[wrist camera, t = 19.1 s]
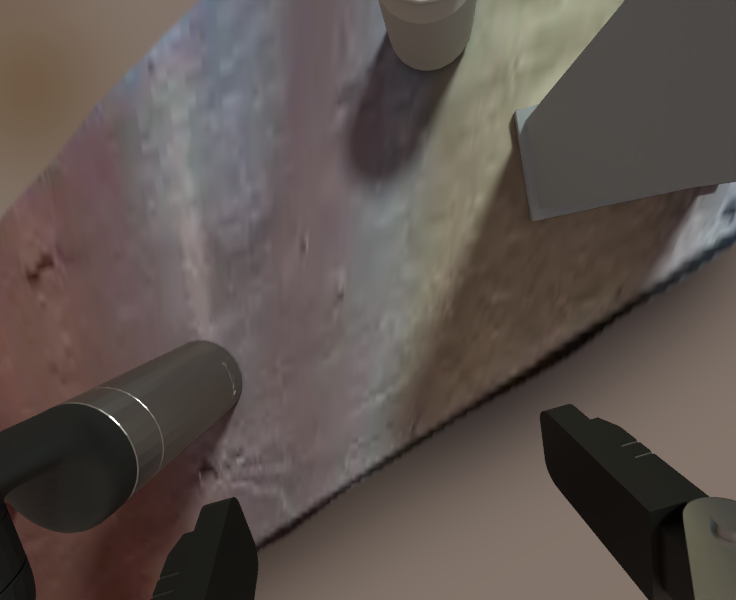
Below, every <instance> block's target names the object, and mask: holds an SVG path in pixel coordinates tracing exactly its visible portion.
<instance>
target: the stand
mask: <svg viewBox="0 0 736 600" xmlns="http://www.w3.org/2000/svg"><path fill="white" fill-rule="evenodd" d="M514 117H515V124H516V130H517V136H518V142H519V149H520V155H521V161H522V167H523V174H524V180H525V186H526V192H527V199H528V205H529V211H530V217H531V221H537V220H542V219H547V218H552V217H556V216H561V215H566V214H570V213H575V212H580V211H585V210H589V209H594V208H599V207H603V206H608V205H613V204H618V203H622V202H627V201H632V200H637V199H641V198H646V197H651V196H655V195H660V194H665V193H670V192H674V191H679V190H684V189H689V188H694V187H701V186H709V185H716V184H723V183H730V182H736V0H625V1H624V2H623V3H622V5H621V6H620V7H619V8H618V9H617V11H616V12H615V13H614V14H613V15H612V17H611V18H610V19H609V20H608V22H607V23H606V24H605V25H604V26H603V28H602V29H601V30H600V31H599V32H598V34H597V35H596V36H595V37H594V38H593V40H592V41H591V42H590V43H589V44H588V46H587V47H586V48H585V49H584V50H583V52H582V53H581V54H580V55H579V57H578V58H577V59H576V60H575V61H574V63H573V64H572V65H571V66H570V67H569V69H568V70H567V71H566V72H565V73H564V75H563V76H562V77H561V78H560V79H559V81H558V82H557V83H556V84H555V86H554V87H553V88H552V89H551V90H550V92H549V93H548V94H547V95H546V96H545V98H544V99H543V100H542V101H541V102H540V104H538V105H535V106H531V107H527V108H523V109H519V110H516V111H515V112H514Z"/></svg>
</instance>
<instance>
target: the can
mask: <svg viewBox="0 0 736 600" xmlns="http://www.w3.org/2000/svg"><path fill="white" fill-rule="evenodd" d="M378 1H379V4H380V8H381V11H382V15H383V18H384V22H385V25H386V29H387V32H388V36H389V39H390V42H391V45H392V47H393V50H394V52H395V54H396V55H397V56H398V57H399V58H400V60H401V61H402V62H403V63H405V64H406V65H408V66H410V67H412V68H413V69H418V70H423V71H430V70H436V69H440V68H442V67H444V66H446V65H448V64H450V63H452V62H453V61H454V60H455V59H456V58H457V57H458V56H459V55H460V54H461V53H462V51H463V50H464V48H465V46H466V44H467V43H468V41H469V38H470V34H471V30H472V26H473V20H474V14H475V8H476V1H477V0H378Z"/></svg>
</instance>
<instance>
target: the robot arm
mask: <svg viewBox="0 0 736 600" xmlns="http://www.w3.org/2000/svg"><path fill="white" fill-rule="evenodd" d="M241 390H242V378H241V373H240V370H239V368H238V365H237V363H236V362H235V360H234V359H233V357H232V356H231V355H230V354H229V353H228V352H227V351H226V350H225V349H223V348H222V347H220V346H218V345H216V344H214V343H211V342H207V341H194V342H190V343H187V344H185V345H183V346H181V347H179V348H177V349H174V350H172V351H170V352H168V353H166V354H163V355H161V356H159V357H157V358H155V359H153V360H151V361H149V362H147V363H145V364H142V365H140V366H138V367H136V368H134V369H132V370H130V371H128V372H126V373H124V374H121V375H119V376H117V377H115V378H113V379H111V380H109V381H107V382H105V383H102V384H100V385H98V386H96V387H94V388H92V389H90V390H88V391H86V392H84V393H82V394H80V395H78V396H76V397H74V398H71V399H69V400H67V401H65V402H63V403H61V404H59V405H57V406H55V407H52V408H50V409H48V410H46V411H44V412H42V413H40V414H38V415H36V416H34V417H32V418H29V419H27V420H25V421H23V422H21V423H18V424H16V425H14V426H12V427H9V428H7V429H5V430H3V431H1V432H0V600H35V599H36V588H35V581H34V576H33V573H32V569H31V567H30V564H29V561H28V559H27V556H26V554H25V551H24V549H23V547H22V544H21V542H20V539H19V537H18V534H17V532H16V529H15V527H14V524H13V522H12V520H11V517H10V515H9V512H8V510H7V507H6V504H5V502H4V501H6V502H7V503H8V504H10V505H11V506H12V507H13V508H14V509H16V510H17V511H18V512H19V513H20V514H22V515H23V516H24V517H26V518H27V519H28V520H30V521H31V522H33V523H35V524H37V525H39V526H41V527H43V528H46V529H48V530H52V531H56V532H62V533H75V532H82V531H85V530H88V529H91V528H93V527H95V526H97V525H98V524H100V523H102V522H103V521H104V520H106V519H107V518H108V517H109V516H111V515H112V514H113V513H114V512H115V511H116V510H117V509H118V508H120V507H121V506H122V505H123V504H124V503H125V502H126V501H127V500H128V499H129V498H131V497H132V496H133V495H134V494H135V493H136V492H137V491H138V490H140V489H141V488H142V487H143V486H144V485H145V484H146V483H147V482H149V481H150V480H151V479H152V478H153V477H154V476H155V475H156V474H157V473H159V472H160V471H161V470H162V469H163V468H164V467H165V466H167V465H168V464H169V463H170V462H171V461H172V460H173V459H174V458H176V457H177V456H178V455H179V454H180V453H181V452H182V451H184V450H185V449H186V448H187V447H188V446H189V445H190V444H192V443H193V442H194V441H195V440H196V439H197V438H198V437H199V436H201V435H202V434H203V433H204V432H205V431H206V430H207V429H209V428H210V427H211V426H212V425H213V424H214V423H216V422H217V421H218V420H219V419H220V418H221V417H222V416H223V415H225V414H226V413H227V412H228V411H229V410H230V409H231V408H232V407H233V406H234V405H235V404H236V402H237V401H238V399H239V397H240V393H241ZM540 422H541V430H542V439H543V446H544V454H545V461H546V466H547V469H548V472H549V474H550V476H551V478H552V480H553V482H554V483H555V485H556V486H557V487H558V489H559V490H560V491H561V493H562V494H563V495H564V496H565V497H566V499H567V500H568V501H569V502H570V504H571V505H572V506H573V507H574V509H575V510H576V511H577V512H578V513H579V515H580V516H581V517H582V518H583V520H584V521H585V522H586V523H587V524H588V525H589V527H590V528H591V529H592V531H593V532H594V533H595V534H596V536H597V537H598V538H599V539H600V541H601V542H602V543H603V544H604V545H605V547H606V548H607V549H608V550H609V552H610V553H611V554H612V555H613V556H614V558H615V559H616V560H617V561H618V563H619V564H620V565H621V566H622V568H623V569H624V570H625V571H626V572H627V574H628V575H629V576H630V578H631V579H632V580H633V581H634V582H635V584H636V585H637V586H638V587H639V589H640V590H641V591H642V592H643V593H644V595H645V596H646V597H647V598H648V600H736V501H735V500H731V499H726V498H719V497H709V496H708V495H706V494H705V493H704V492H703V491H701V490H700V489H699V488H697V487H696V486H695V485H694V484H692V483H691V482H690V481H688V480H687V479H686V478H685V477H684V476H682V475H681V474H680V473H678V472H677V471H676V470H675V469H673V468H672V467H671V466H669V465H668V464H667V463H666V462H664V461H663V460H662V459H661V458H659V457H658V456H657V455H655V454H652V453H651V451H650V450H649V449H648V448H647V447H645V446H644V445H643V444H641V443H640V442H639V443H638V442H637V440H636V439H635V438H634V437H632V436H631V435H630V434H629V433H627V432H626V431H625V430H624V429H622V428H621V427H619V426H617V425H615V424H612V423H610V422H608V421H605V420H603V419H600V418H595V419H591V420H590V419H589V418H588V417H587V416H585V415H584V414H583V413H582V412H581V411H579V410H578V409H577V408H576V407H575V406H573V405H571V404H567V405H564V406H560V407H557V408H553V409H550V410H546V411H542V412H541V414H540ZM257 575H258V555H257V550H256V546H255V542H254V540H253V537H252V535H251V532H250V529H249V527H248V524H247V522H246V519H245V516H244V514H243V511H242V509H241V506H240V504H239V501H238V500H237V499H236V498H235V497H232V498H229V499H225V500H222V501H218V502H214V503H211V504H207V505H204V506H203V507H202V509H201V511H200V514H199V517H198V520H197V523H196V526H195V529H194V531H193V532H189V533H186V534H183V536H182V537H181V538H180V540H179V541H178V542H177V544H176V545H175V546H174V548H173V549H172V550H171V552H170V553H169V554H168V556H167V559H166V561H165V564H164V567H163V569H162V572H161V574H160V580H158V582H157V585H156V587H155V590H154V592H153V599H151V600H254V597H255V589H256V582H257Z"/></svg>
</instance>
